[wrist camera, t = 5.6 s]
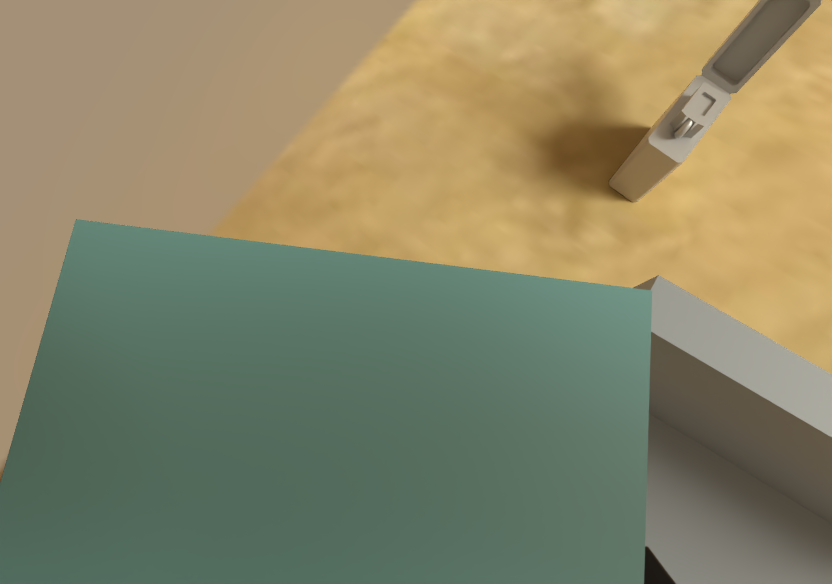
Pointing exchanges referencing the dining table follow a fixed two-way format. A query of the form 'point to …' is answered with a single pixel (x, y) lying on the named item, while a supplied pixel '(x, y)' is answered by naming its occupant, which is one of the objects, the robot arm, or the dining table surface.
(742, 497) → the grey bookend
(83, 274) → the teal block
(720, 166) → the dining table surface
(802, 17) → the lighter
